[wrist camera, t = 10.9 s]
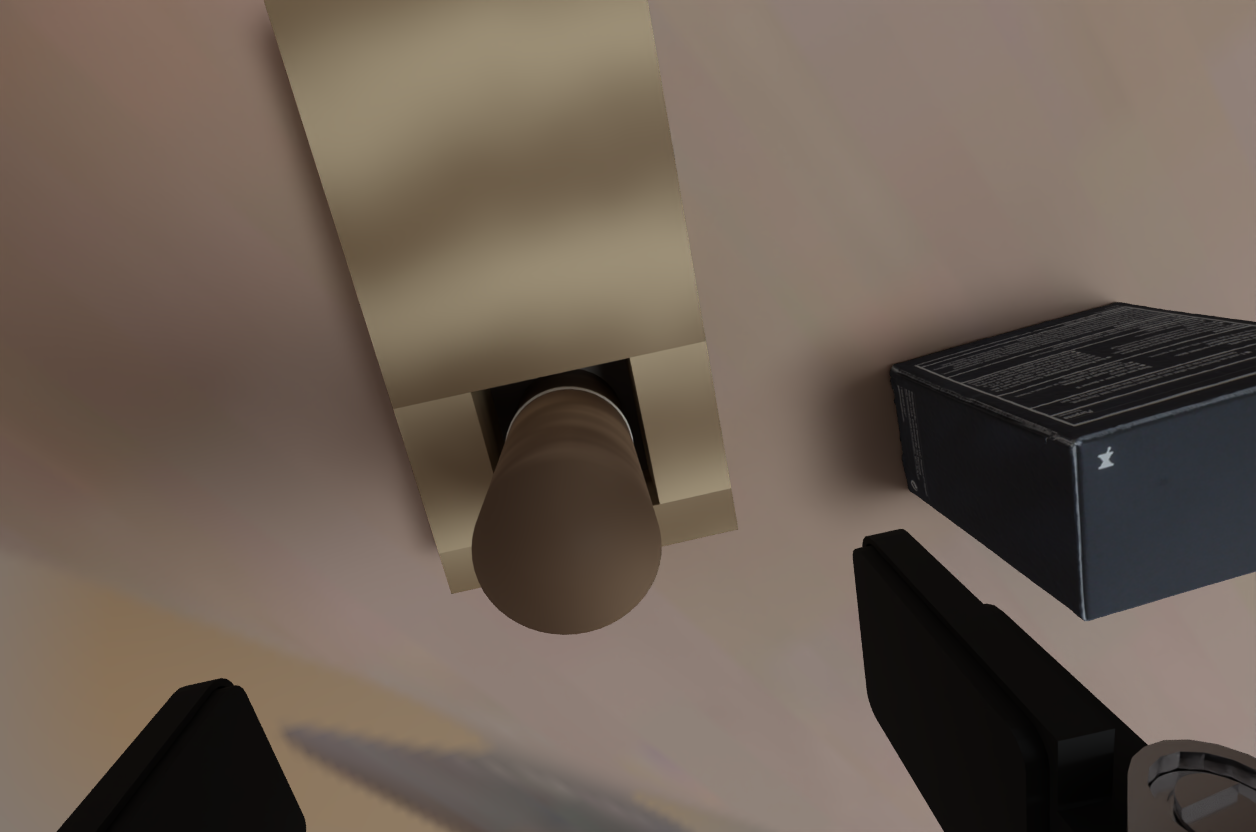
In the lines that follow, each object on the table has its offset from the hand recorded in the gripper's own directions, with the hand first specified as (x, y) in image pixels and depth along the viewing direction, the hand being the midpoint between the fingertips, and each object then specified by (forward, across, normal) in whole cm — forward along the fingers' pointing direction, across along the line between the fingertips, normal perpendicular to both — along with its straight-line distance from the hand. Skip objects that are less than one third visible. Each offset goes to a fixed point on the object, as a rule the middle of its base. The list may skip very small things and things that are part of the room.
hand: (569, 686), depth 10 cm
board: (+18, 0, -4) cm, 18 cm away
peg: (+17, 0, +1) cm, 17 cm away
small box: (+18, -18, +5) cm, 26 cm away
